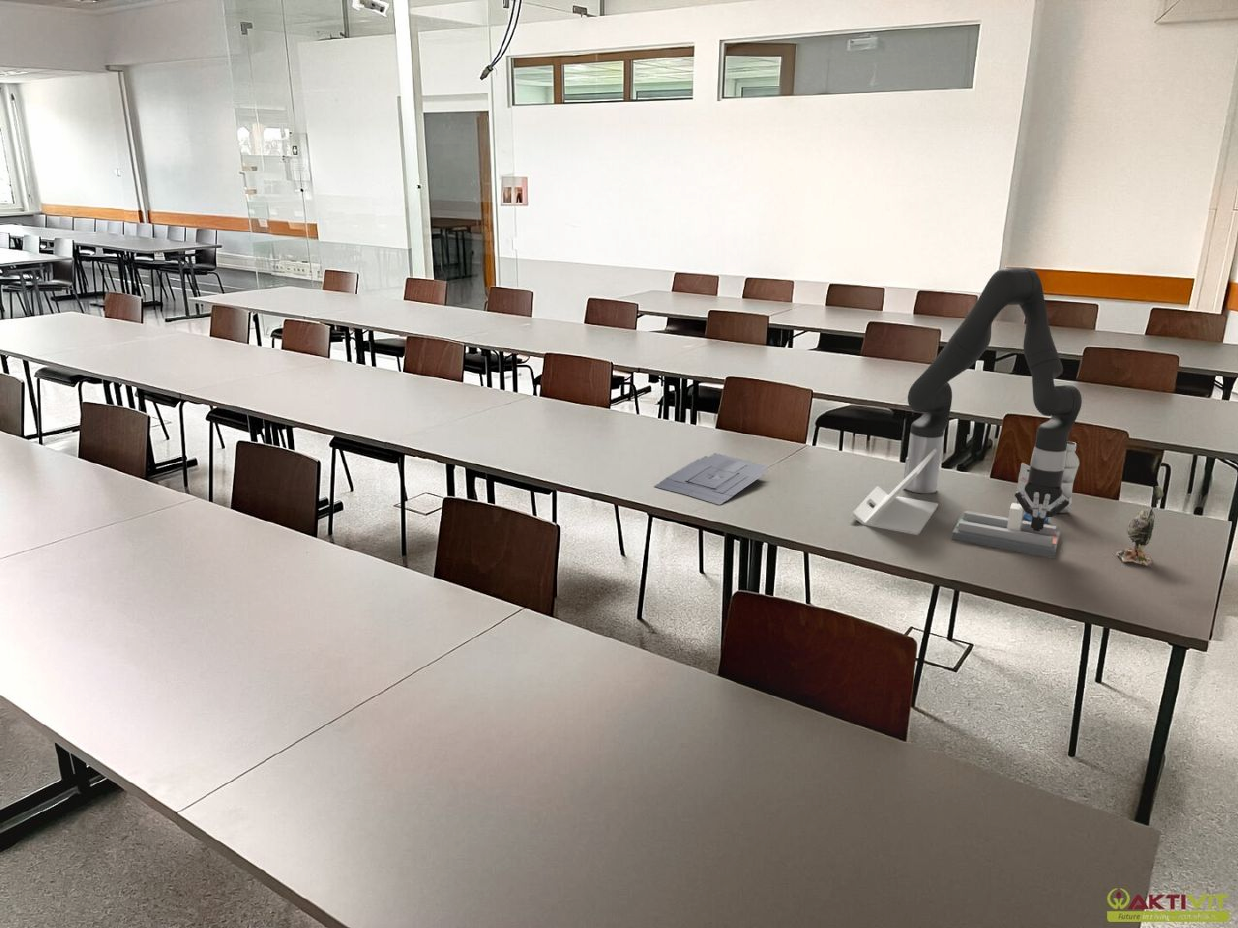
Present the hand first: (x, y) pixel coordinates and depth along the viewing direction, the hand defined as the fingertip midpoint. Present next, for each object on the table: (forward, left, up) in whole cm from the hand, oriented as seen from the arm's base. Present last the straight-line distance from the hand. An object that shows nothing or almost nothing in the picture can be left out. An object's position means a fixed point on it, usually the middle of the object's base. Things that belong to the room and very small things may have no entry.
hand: (1036, 530), depth 220 cm
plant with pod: (+22, +3, -4) cm, 23 cm away
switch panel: (-7, 0, -4) cm, 8 cm away
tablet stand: (-36, +4, -4) cm, 36 cm away
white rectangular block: (-5, 0, -2) cm, 5 cm away
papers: (-89, +2, -4) cm, 90 cm away
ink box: (-3, +20, -4) cm, 20 cm away
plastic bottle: (+3, +28, -4) cm, 28 cm away
